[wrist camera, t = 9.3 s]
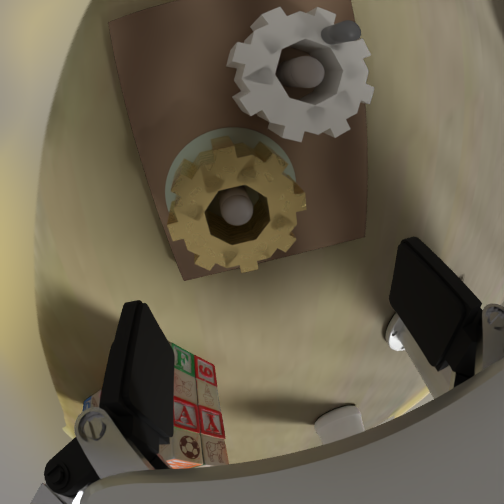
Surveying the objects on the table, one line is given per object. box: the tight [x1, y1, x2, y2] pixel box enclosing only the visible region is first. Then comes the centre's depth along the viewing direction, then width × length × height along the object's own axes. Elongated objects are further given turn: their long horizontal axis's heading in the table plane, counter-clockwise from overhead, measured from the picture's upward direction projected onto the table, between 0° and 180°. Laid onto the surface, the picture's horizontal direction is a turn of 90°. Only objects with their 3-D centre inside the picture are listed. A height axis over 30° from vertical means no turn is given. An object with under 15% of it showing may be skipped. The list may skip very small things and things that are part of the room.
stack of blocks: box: [83, 343, 229, 469], centre depth 25 cm, size 21×6×12 cm, turn 129°
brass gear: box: [167, 135, 307, 273], centre depth 15 cm, size 7×7×3 cm
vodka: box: [314, 406, 365, 445], centre depth 34 cm, size 9×9×30 cm
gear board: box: [108, 0, 368, 281], centre depth 14 cm, size 14×18×5 cm
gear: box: [226, 7, 374, 142], centre depth 11 cm, size 7×7×5 cm
